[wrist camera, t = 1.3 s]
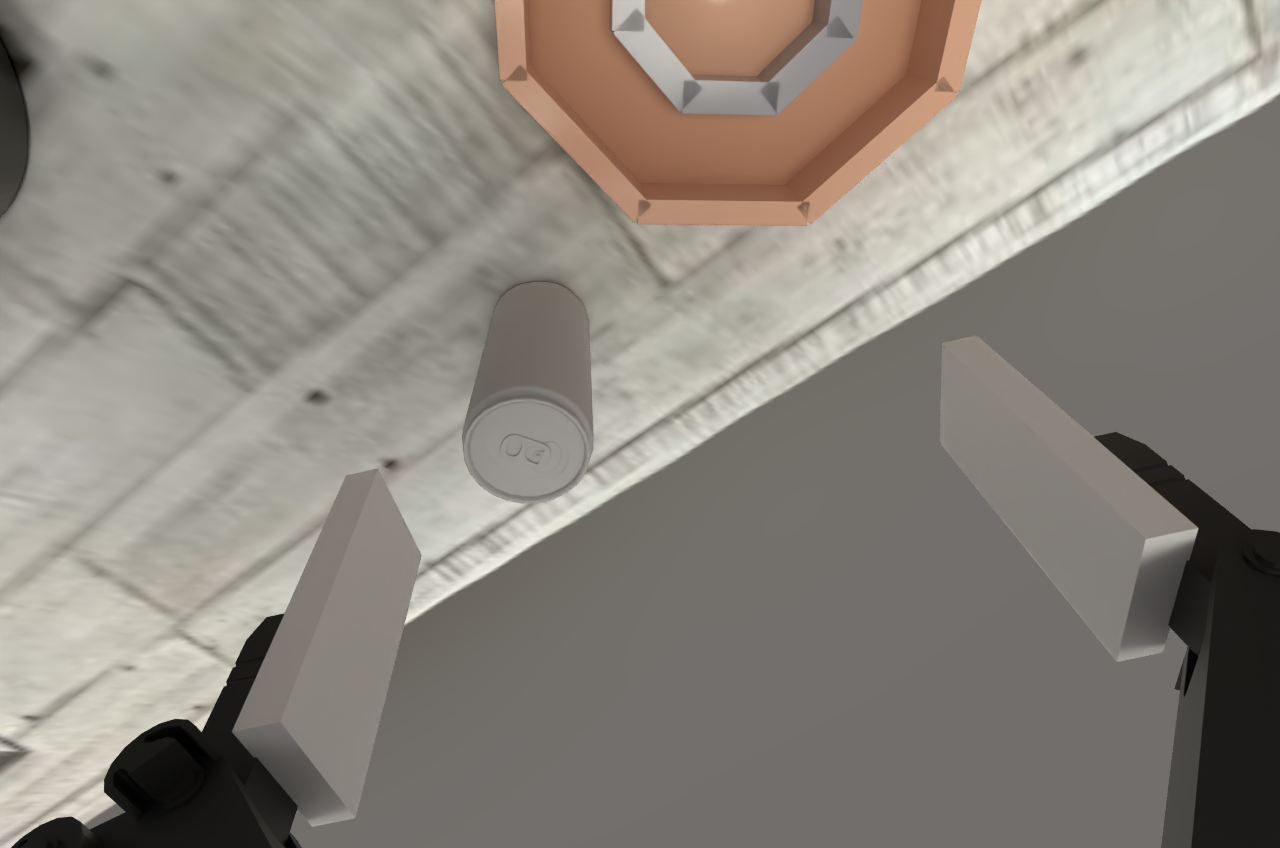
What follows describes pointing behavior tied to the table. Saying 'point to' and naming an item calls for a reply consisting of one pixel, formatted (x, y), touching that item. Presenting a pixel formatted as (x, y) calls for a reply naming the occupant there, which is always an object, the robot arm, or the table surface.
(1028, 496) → the robot arm
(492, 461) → the beverage can
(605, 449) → the table surface
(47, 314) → the table surface
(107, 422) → the table surface
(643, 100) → the dish
